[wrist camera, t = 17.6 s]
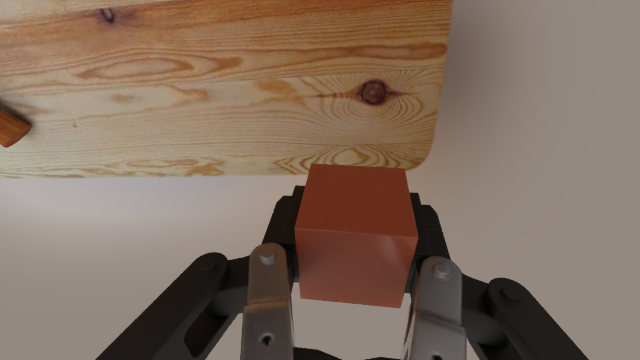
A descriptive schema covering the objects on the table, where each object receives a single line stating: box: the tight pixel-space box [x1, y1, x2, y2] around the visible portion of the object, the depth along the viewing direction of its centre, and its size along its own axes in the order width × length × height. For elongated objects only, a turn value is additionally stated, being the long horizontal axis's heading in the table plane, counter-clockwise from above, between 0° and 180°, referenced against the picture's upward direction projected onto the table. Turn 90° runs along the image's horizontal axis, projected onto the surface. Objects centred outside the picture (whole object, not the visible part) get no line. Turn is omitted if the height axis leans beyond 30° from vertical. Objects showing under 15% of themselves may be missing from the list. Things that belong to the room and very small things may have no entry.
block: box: [294, 164, 418, 308], centre depth 12 cm, size 4×4×4 cm
